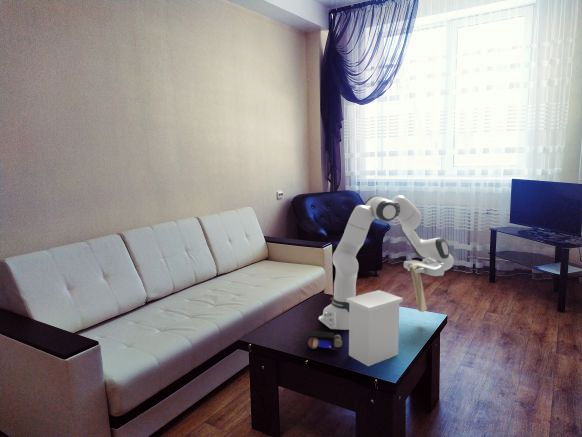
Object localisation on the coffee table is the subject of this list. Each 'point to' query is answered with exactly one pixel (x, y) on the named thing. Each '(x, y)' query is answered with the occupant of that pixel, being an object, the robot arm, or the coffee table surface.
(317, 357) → the coffee table surface
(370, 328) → the pedestal
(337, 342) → the figurine character
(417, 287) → the beech bar
